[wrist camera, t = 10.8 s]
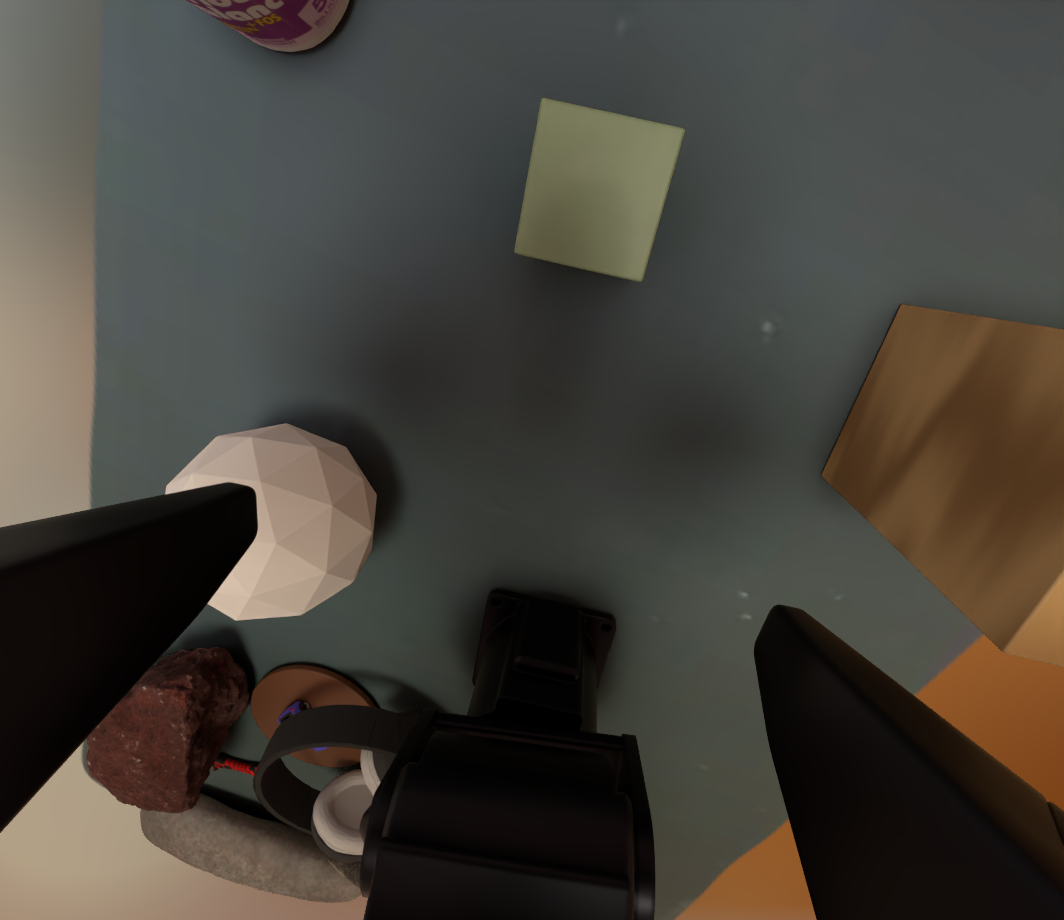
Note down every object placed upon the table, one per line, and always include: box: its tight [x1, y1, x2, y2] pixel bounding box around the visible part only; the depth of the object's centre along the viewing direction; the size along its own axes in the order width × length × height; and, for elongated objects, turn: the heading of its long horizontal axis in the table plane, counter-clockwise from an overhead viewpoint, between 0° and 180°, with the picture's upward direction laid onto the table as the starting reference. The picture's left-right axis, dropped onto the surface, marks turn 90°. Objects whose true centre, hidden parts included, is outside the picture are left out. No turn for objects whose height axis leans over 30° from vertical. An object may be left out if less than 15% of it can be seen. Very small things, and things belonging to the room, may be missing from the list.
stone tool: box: [140, 793, 362, 902], centre depth 34 cm, size 17×3×5 cm
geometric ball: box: [165, 423, 377, 620], centre depth 20 cm, size 8×8×8 cm
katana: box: [210, 754, 258, 775], centre depth 33 cm, size 13×2×1 cm, turn 90°
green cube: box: [514, 98, 685, 282], centre depth 16 cm, size 4×4×4 cm
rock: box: [86, 647, 249, 813], centre depth 28 cm, size 11×6×8 cm
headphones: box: [253, 705, 422, 863], centre depth 29 cm, size 10×4×20 cm
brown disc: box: [251, 665, 378, 767], centre depth 29 cm, size 8×8×2 cm
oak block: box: [822, 304, 1064, 666], centre depth 14 cm, size 7×7×10 cm
